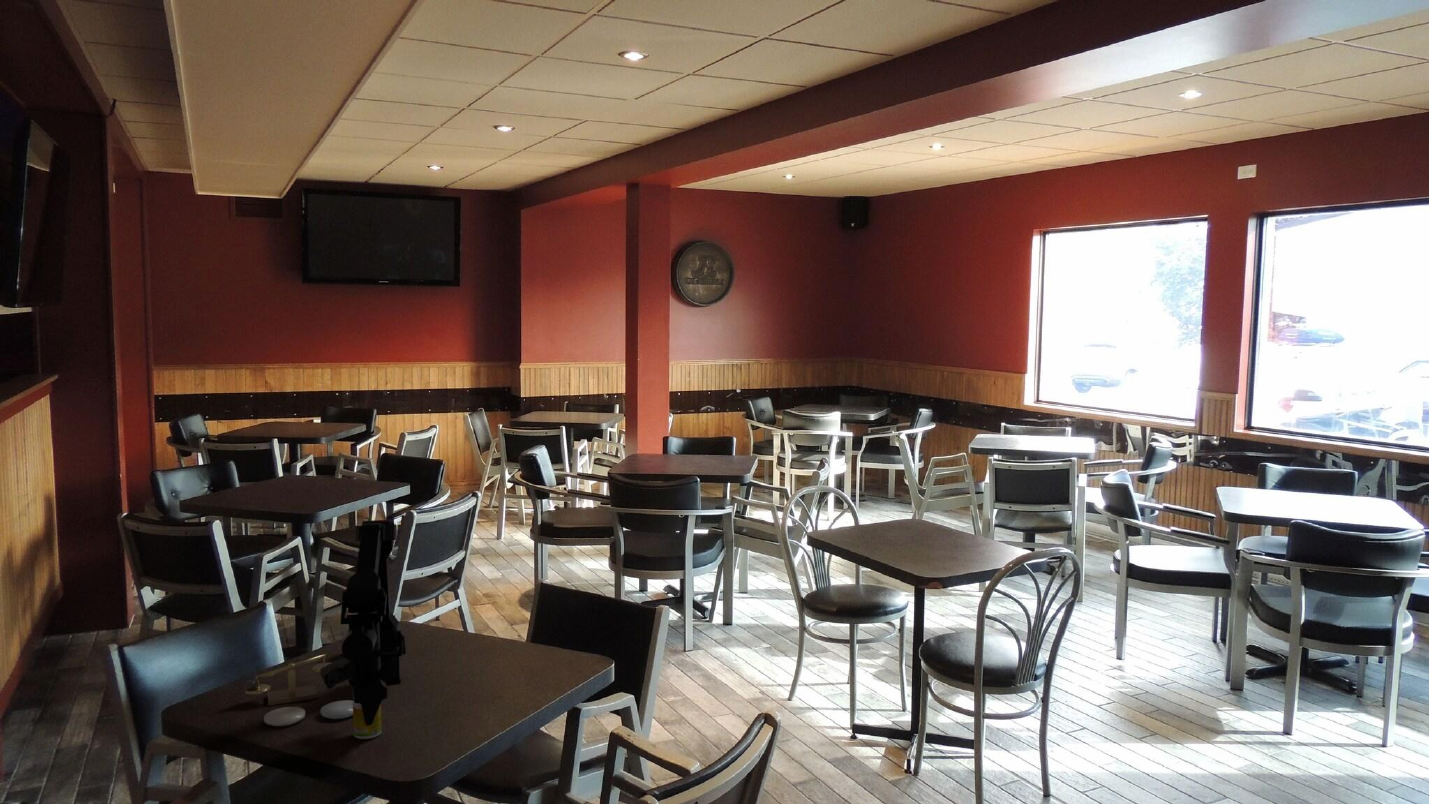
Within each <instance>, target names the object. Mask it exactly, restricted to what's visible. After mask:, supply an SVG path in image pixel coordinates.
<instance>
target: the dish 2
mask: <svg viewBox="0 0 1429 804" xmlns="http://www.w3.org/2000/svg"><path fill="white" fill-rule="evenodd" d="M353 701H354V700H349V699H348V700H346V699H345V700H337V701H332V702H330V703H329V702H328V704H327V703H326V704H325V705H324V706H321V708H320V716H322V717H323V718H327V719H329V720H343V719H347V718H350V717H353Z"/></svg>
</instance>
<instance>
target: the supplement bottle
mask: <svg viewBox="0 0 1429 804" xmlns="http://www.w3.org/2000/svg"><path fill="white" fill-rule="evenodd" d="M352 701H353V715H352V718H353V721H352V723H353V728H352V730H353V736H354V738H356V739H359V740H369V739H373V738H376V737H378V736H380V734H381V733H382V703H381V704H380V706H379V709H378V711H377V713H376V716H375V718H374V720H373V723H372V725H368V726H366V724H365V719H364V715H363V711H362V707H361V704H360V703H354V700H352Z"/></svg>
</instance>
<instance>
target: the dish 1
mask: <svg viewBox="0 0 1429 804" xmlns="http://www.w3.org/2000/svg"><path fill="white" fill-rule="evenodd" d="M305 717H306V710H305V709H304V708H302V707H298V706H287V707H280V708H277V709H276V708H275V709H273V710H271V711H268V712H267V713H266V714H264V716H263V722H264V723H265V724H266V725H269V726H273V727H285V726H290V725H293V724H296V723H297V722H300V721H302V720H303V719H304V718H305Z"/></svg>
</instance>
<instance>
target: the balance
mask: <svg viewBox="0 0 1429 804" xmlns="http://www.w3.org/2000/svg"><path fill="white" fill-rule="evenodd" d="M326 657H327V654H326V653H324V654H323V653H322V654H320V655H317V656H313V657H310V658H307V659H305V660H302V661H299V662H296V663H294V662H290V663H288V665H285V666H283V667H281V668H280V667H279V668H276V669H274V670H271V671H268V672H265V673H262V674H258V675H256V676H255V679H248V680H246V681H245V682H244V683H245V685H244V686H245V694H246V695H249V696H257V695H262V694H266V693H267V705H270V706H276V705H283V704H290V703H296V702H301V701H303V700H304V701H308V700H309V699H310V700H315V699H314V698H317V699H318V689H317V687H316V684H313V685H306V686H299V687H296V668H299V667H302V666H305V665H308V664H310V663H314V662H316V661H320V660H322V659H323V660H322V661H323V662H321V663H318V664H315V665H313V666H312V672H314V673H320V669H321V668H323V667H324V666H326V665H329V664H331V663H332V662H326ZM283 672H287V678H288V681H287V682H288V683H287V684H288V688H285V689H279V690H278V689H277V690H272V688H271V687H272V686H271V685H269V684H265V683H263V684H262V683H261V684H260V680H262V679H265V678H268V677H272V676H273V675H277V674H281V673H283ZM320 674H321V673H320Z"/></svg>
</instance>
